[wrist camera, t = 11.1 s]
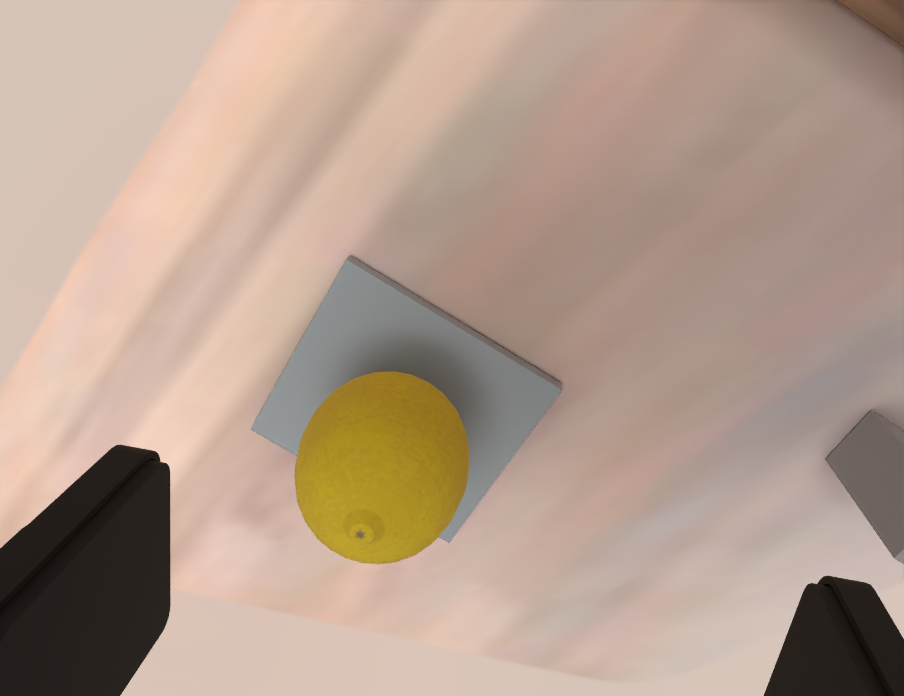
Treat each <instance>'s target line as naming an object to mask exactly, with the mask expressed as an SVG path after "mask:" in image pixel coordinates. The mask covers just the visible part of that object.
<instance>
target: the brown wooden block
mask: <svg viewBox="0 0 904 696" xmlns="http://www.w3.org/2000/svg"><path fill="white" fill-rule="evenodd" d="M838 1H839V2H840V3H842V4H843V5H845V6H846V7H848V8H849V9H851V10H852V11H853V12H855V13H856V14H858V15H859V16H861V17H862V18H864V19H865V20H866V21H868V22H869V23H871V24H872V25H874V26H875V27H876V28H878V29H879V30H881V31H882V32H884V33H885V34H887V35H888V36H889V37H891V38H892V39H894V40H895V41H897V42H898V43H900V44H901V45H902V46H904V0H838Z"/></svg>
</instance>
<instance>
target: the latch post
mask: <svg viewBox="0 0 904 696" xmlns="http://www.w3.org/2000/svg"><path fill="white" fill-rule="evenodd" d="M826 461H827V462H828V464H829V465H830V467H831V468H832V470H833V471H834V472H835V474H836V475H837V477H838V478H839V480H840V481H841V483H842V484H843V485H844V487H845V488H846V490H847V491H848V493H849V494H850V495H851V497H852V498H853V500H854V501H855V503H856V504H857V506H858V507H859V508H860V510H861V511H862V513H863V514H864V516H865V517H866V518H867V520H868V521H869V523H870V524H871V526H872V527H873V529H874V530H875V531H876V533H877V534H878V536H879V537H880V539H881V540H882V541H883V543H884V544H885V546H886V547H887V549H888V550H889V552H890V553H891V554H892V556H893V557H894V558H895V559H896V560H898V561H900V562H901V563H903V564H904V430H902V429H900V428H899V427H897V426H896V425H894V424H892V423H891V422H889V421H888V420H886V419H885V418H883V417H881V416H880V415H878V414H877V413H875V412H873V411H872V410H871V411H870V412H869V413H868V414H867V415H866V416H865V417H864V418H863V419H862V420H861V421H860V422H859V424H858V425H857V426H856V427H855V428H854V429H853V430H852V431H851V432H850V433H849V434H848V435H847V436H846V437H845V439H844V440H843V441H842V442H841V443H840V444H839V445H838V446H837V447H836V448H835V449H834V450H833V451H832V452H831V453H830V455H829V456H828V457H827V458H826Z"/></svg>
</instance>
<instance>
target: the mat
mask: <svg viewBox="0 0 904 696" xmlns="http://www.w3.org/2000/svg"><path fill="white" fill-rule="evenodd" d="M389 371H395V372H400V373H406V374H411V375H414V376H416V377H418V378H420V379H423V380H425V381H427V382H429V383H430V384H432V385H433V386H434V387H436V388H437V389H438V390H440V391H441V392H442V393H443V394H444V395H445V396H446V397H447V398H448V400H449V401H450V402H451V403H452V405H453V406H454V407H455V408H456V410H457V412H458V414H459V417H460V419H461V421H462V423H463V425H464V428H465V430H466V434H467V440H468V447H469V454H470V464H469V472H468V479H467V485H466V489H465V492H464V495H463V497H462V499H461V502H460V504H459V506H458V508H457V510H456V512H455V515H454V517H453V518H452V520H451V522H450V523H449V524H448V526H447V527H446V528H445V529H444V530H443V532H442V533H441V534H440V535H439V536H438V537H440V538H441V539H443V540H445V541H447V542H448V543H449V542H450V541H451V540H452V538H453V537H454V536H455V534H456V533H457V532H458V530H459V529H460V527H461V526H462V525H463V523H464V522H465V521H466V519H467V518H468V517H469V515H470V514H471V513H472V511H473V510H474V509H475V507H476V506H477V504H478V503H479V502H480V500H481V499H482V498H483V496H484V495H485V494H486V492H487V491H488V490H489V488H490V487H491V485H492V484H493V483H494V481H495V480H496V479H497V477H498V476H499V475H500V473H501V472H502V471H503V469H504V468H505V467H506V465H507V464H508V462H509V461H510V460H511V458H512V457H513V456H514V454H515V453H516V452H517V450H518V449H519V448H520V446H521V445H522V444H523V442H524V441H525V439H526V438H527V437H528V435H529V434H530V433H531V431H532V430H533V429H534V427H535V426H536V425H537V423H538V422H539V420H540V419H541V418H542V416H543V415H544V414H545V412H546V411H547V410H548V408H549V407H550V406H551V404H552V403H553V402H554V400H555V399H556V397H557V396H558V395H559V393H560V392H561V391H562V383H560V382H558V381H557V380H555V379H553V378H552V377H550V376H549V375H547V374H545V373H544V372H542V371H540V370H539V369H537V368H535V367H534V366H532V365H530V364H529V363H527V362H525V361H524V360H522V359H520V358H519V357H517V356H515V355H514V354H512V353H511V352H509V351H507V350H506V349H504V348H502V347H501V346H499V345H497V344H496V343H494V342H492V341H491V340H489V339H487V338H486V337H484V336H482V335H481V334H479V333H478V332H476V331H474V330H473V329H471V328H469V327H468V326H466V325H464V324H463V323H461V322H459V321H458V320H456V319H454V318H453V317H451V316H449V315H448V314H446V313H445V312H443V311H441V310H440V309H438V308H436V307H435V306H433V305H431V304H430V303H428V302H426V301H425V300H423V299H421V298H420V297H418V296H416V295H415V294H413V293H411V292H410V291H408V290H407V289H405V288H403V287H402V286H400V285H398V284H397V283H395V282H393V281H392V280H390V279H388V278H387V277H385V276H383V275H382V274H380V273H378V272H377V271H375V270H374V269H372V268H370V267H369V266H367V265H365V264H364V263H362V262H360V261H359V260H357V259H355V258H354V257H352V256H349V257H348V258H347V259H346V261H345V263H344V264H343V266H342V268H341V270H340V272H339V273H338V275H337V277H336V279H335V280H334V282H333V284H332V286H331V288H330V289H329V291H328V293H327V295H326V296H325V298H324V300H323V302H322V304H321V305H320V307H319V309H318V311H317V312H316V314H315V316H314V318H313V320H312V321H311V323H310V325H309V327H308V328H307V330H306V332H305V334H304V336H303V337H302V339H301V341H300V343H299V344H298V346H297V348H296V350H295V351H294V353H293V355H292V357H291V359H290V360H289V362H288V364H287V366H286V367H285V369H284V371H283V373H282V375H281V376H280V378H279V380H278V382H277V383H276V385H275V387H274V389H273V391H272V392H271V394H270V396H269V398H268V399H267V401H266V403H265V405H264V407H263V408H262V410H261V412H260V414H259V415H258V417H257V419H256V421H255V423H254V424H253V426H252V428H251V430H252V431H254V432H256V433H257V434H259V435H261V436H263V437H264V438H266V439H268V440H270V441H271V442H273V443H275V444H277V445H278V446H280V447H282V448H284V449H285V450H287V451H289V452H291V453H292V454H294V455H296V456H297V455H298V450H299V444H300V441H301V438H302V435H303V433H304V431H305V429H306V427H307V425H308V423H309V421H310V419H311V417H312V415H313V414H314V412H315V411H316V409H317V408H318V407H319V406H320V405H321V404H322V403H323V402H324V401H325V399H326V398H327V397H328V396H329V395H330V394H331V393H332V392H333V391H334V390H336V389H337V388H339V387H341V386H342V385H344V384H346V383H347V382H349V381H351V380H352V379H354V378H356V377H360V376H363V375H367V374H370V373H374V372H389Z"/></svg>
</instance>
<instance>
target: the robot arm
mask: <svg viewBox="0 0 904 696" xmlns="http://www.w3.org/2000/svg"><path fill="white" fill-rule="evenodd" d="M169 612H170V468H169V466H168V464H166V463H162V462H160V457H159V455H158V453H157V452H155V451H151V450H146V449H141V448H135V447H130V446H124V445H116V446H114V447H113V448H111V449H110V450H109V451H108V452H107V453H106V454H105V455H104V456H103V457H102V458H101V459H99V460H98V461H97V462H96V463H95V464H94V465H93V466H92V467H91V468H90V469H88V470H87V471H86V472H85V473H84V474H83V475H82V476H81V477H80V478H79V479H78V480H76V481H75V482H74V483H73V484H72V485H71V486H70V487H69V488H68V489H67V490H66V491H64V492H63V493H62V494H61V495H60V496H59V497H58V498H57V499H56V500H55V501H53V502H52V503H51V504H50V505H49V506H48V507H47V508H46V509H45V510H44V511H43V512H41V513H40V514H39V515H38V516H37V517H36V518H35V519H34V520H33V521H32V522H31V523H29V524H28V525H27V526H25V527H24V528H22V529H21V530H20V531H19V532H18V533H17V534H16V535H15V536H14V537H12V538H11V539H10V540H9V541H8V542H7V543H6V544H5V545H4V546H3V547H1V548H0V696H120V695H121V694H122V692H123V691H124V689H125V688H126V686H127V685H128V683H129V681H130V680H131V678H132V677H133V675H134V674H135V672H136V671H137V670H138V668H139V667H140V665H141V663H142V662H143V661H144V659H145V657H146V656H147V654H148V653H149V651H150V650H151V648H152V647H153V645H154V644H155V642H156V641H157V639H158V638H159V636H160V635H161V633H162V632H163V630H164V628H165V625H166V623H167V620H168V617H169ZM764 696H904V639H903V637H902V635H901V634H900V632H899V630H898V629H897V627H896V625H895V624H894V622H893V620H892V619H891V617H890V615H889V613H888V612H887V610H886V608H885V607H884V605H883V603H882V601H881V600H880V598H879V596H878V595H877V593H876V591H875V590H874V588H873V587H872V586H871V585H870V584H867V583H864V582H859V581H854V580H848V579H843V578H837V577H832V576H824V577H823V578H822V579H821V580H820V581H819V582H818V584H813V583H811V584H808V585H807V586H806V588H805V590H804V591H803V594H802V597H801V599H800V602H799V605H798V607H797V610H796V612H795V615H794V618H793V620H792V623H791V626H790V628H789V631H788V633H787V636H786V639H785V641H784V644H783V647H782V649H781V652H780V654H779V657H778V660H777V662H776V665H775V668H774V670H773V673H772V675H771V678H770V681H769V683H768V686H767V689H766V691H765V694H764Z"/></svg>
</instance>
